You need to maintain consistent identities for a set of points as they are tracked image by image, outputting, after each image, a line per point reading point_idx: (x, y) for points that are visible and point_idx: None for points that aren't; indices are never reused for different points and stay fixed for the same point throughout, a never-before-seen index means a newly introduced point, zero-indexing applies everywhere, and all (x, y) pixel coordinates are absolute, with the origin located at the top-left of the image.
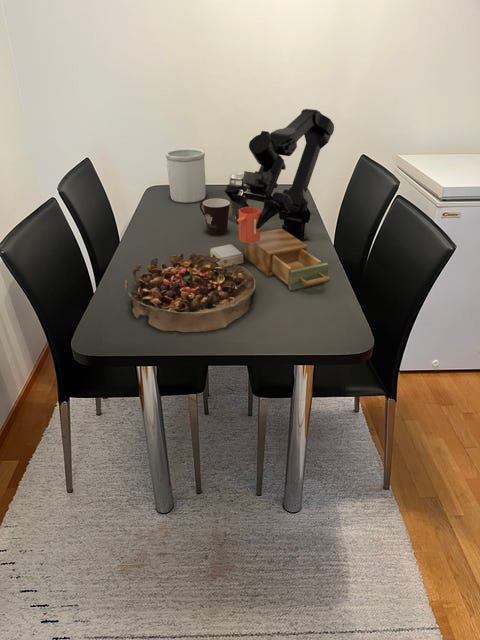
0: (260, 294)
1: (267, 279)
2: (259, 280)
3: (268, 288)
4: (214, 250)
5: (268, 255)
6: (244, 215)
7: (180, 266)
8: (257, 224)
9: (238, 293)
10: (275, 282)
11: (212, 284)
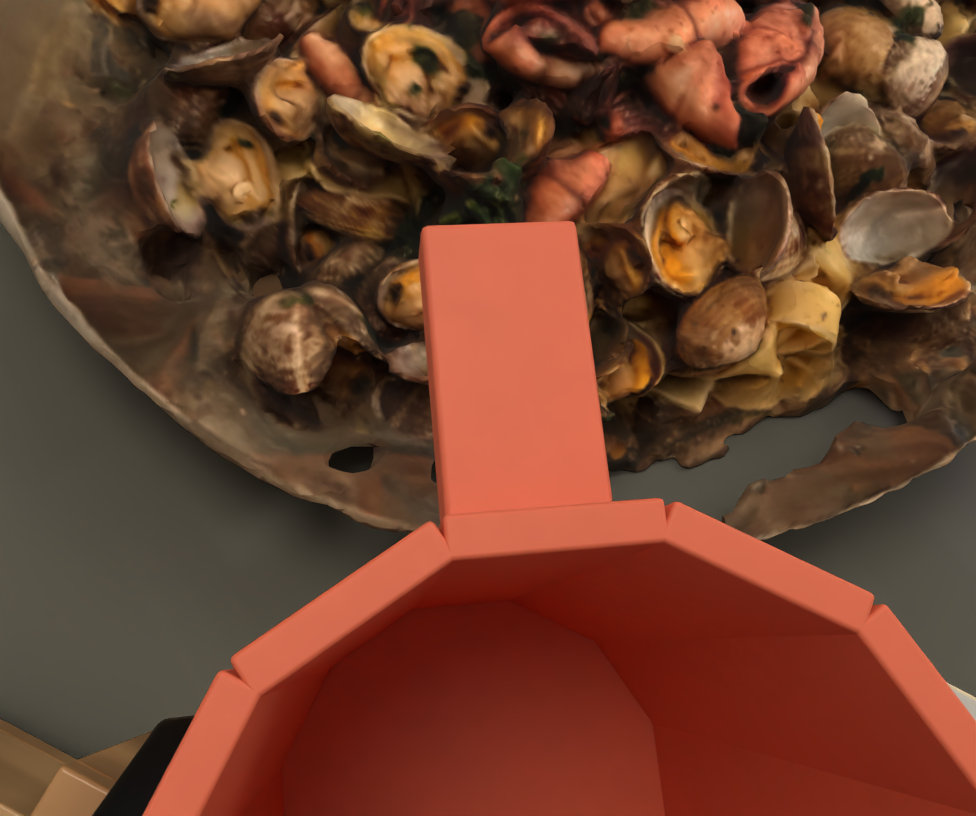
0: (24, 336)
1: (127, 658)
2: (193, 583)
3: (13, 487)
4: (963, 702)
5: (76, 761)
6: (521, 511)
7: (902, 158)
8: (155, 770)
9: (132, 101)
10: (10, 652)
11: (388, 13)
